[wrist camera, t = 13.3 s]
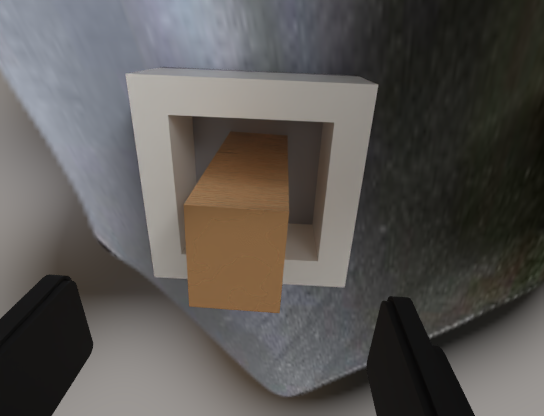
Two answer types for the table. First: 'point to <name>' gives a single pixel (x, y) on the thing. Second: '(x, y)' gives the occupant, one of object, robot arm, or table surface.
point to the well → (265, 120)
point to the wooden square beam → (239, 225)
